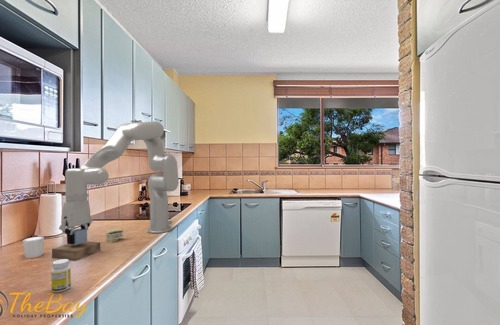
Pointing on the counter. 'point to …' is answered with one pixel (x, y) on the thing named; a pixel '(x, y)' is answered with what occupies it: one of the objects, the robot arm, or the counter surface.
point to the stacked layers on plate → (113, 235)
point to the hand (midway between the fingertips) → (77, 241)
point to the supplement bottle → (61, 275)
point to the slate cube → (80, 236)
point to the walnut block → (76, 251)
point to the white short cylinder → (33, 247)
